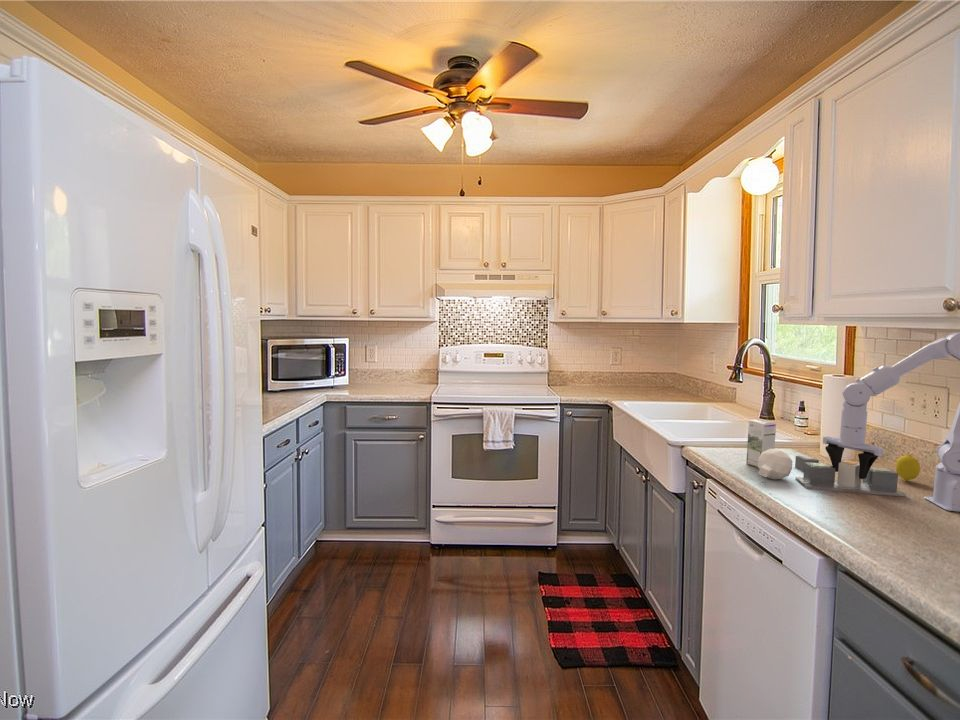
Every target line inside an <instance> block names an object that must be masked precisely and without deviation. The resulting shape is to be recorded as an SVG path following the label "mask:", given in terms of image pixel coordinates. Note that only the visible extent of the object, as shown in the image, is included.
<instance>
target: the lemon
mask: <svg viewBox="0 0 960 720" xmlns="http://www.w3.org/2000/svg"><path fill="white" fill-rule="evenodd" d="M920 471H921V465H920V461H918V459H917V458H916V457H914V456H912V454H906V455H902V456H900V457H899V458H898V459H897V460H896V463H895V472H897V473H898V477H900V478H901V479H903V480H904V482H909V481H910V480H914V479H916V478H918V476H919V474H920Z"/></svg>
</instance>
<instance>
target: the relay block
mask: <svg viewBox="0 0 960 720" xmlns="http://www.w3.org/2000/svg"><path fill="white" fill-rule="evenodd" d="M804 462H811V463H820V460H819V459H817V458H815V457H812V456H810V455H795V461H794V463H795V464H794V469H796V470H799V471H801V472H803V473H804Z"/></svg>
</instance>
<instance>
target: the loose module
mask: <svg viewBox="0 0 960 720" xmlns="http://www.w3.org/2000/svg"><path fill="white" fill-rule="evenodd" d="M859 468H860V465H859V461H853V460H847V459H846V460H843V461H841V462H840V463H839V469H838V472H837V480H838V481H837V484H840V485H844V486H849V487H853V488H854V487H857V486H859V485H861V482H862V479H859Z"/></svg>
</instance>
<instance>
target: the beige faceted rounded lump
mask: <svg viewBox="0 0 960 720" xmlns="http://www.w3.org/2000/svg"><path fill="white" fill-rule="evenodd" d="M757 468H758V469H759V470H758V474H759V475H760V476H762V477H765V478H768V479H770V480H781V479H784V478H787V477H788V476H790V474H791V472H792V470H793V459H792V458H791V457H790V454H788V453H787V452H785V451H784V450H782V449H779V448H775V449H768V450H766V451H764V452H762V453H761V455H760V457H759V459H758V467H757Z"/></svg>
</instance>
